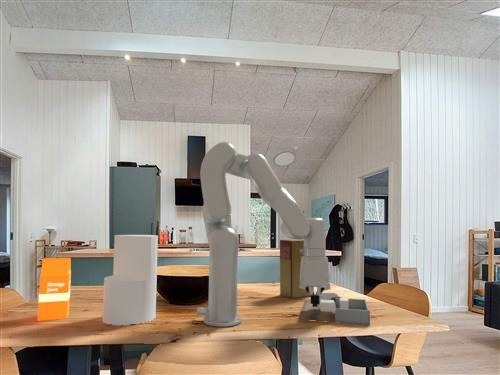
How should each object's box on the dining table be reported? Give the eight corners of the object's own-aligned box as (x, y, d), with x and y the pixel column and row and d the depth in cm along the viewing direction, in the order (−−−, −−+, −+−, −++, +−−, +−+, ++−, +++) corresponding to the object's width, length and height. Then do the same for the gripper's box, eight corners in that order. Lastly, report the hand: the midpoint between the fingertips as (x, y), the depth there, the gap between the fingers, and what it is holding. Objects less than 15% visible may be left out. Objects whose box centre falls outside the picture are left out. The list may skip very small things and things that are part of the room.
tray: (335, 322, 124) (335, 308, 124) (335, 310, 141) (335, 298, 142) (369, 325, 121) (369, 310, 122) (366, 311, 139) (365, 299, 139)
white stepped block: (129, 310, 139) (132, 234, 141) (166, 315, 131) (168, 235, 133) (90, 320, 123) (94, 236, 126) (129, 328, 115) (132, 237, 118)
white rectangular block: (320, 311, 127) (320, 302, 127) (320, 308, 131) (320, 299, 131) (333, 311, 126) (333, 302, 126) (334, 308, 130) (333, 300, 130)
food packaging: (301, 292, 176) (301, 239, 178) (315, 295, 168) (314, 240, 170) (278, 295, 169) (278, 239, 171) (291, 298, 161) (291, 240, 163)
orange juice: (41, 315, 130) (44, 257, 132) (69, 313, 133) (72, 256, 135) (37, 320, 123) (40, 259, 125) (66, 318, 126) (69, 258, 128)
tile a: (339, 300, 135) (348, 300, 134) (340, 297, 139) (348, 298, 138) (339, 313, 135) (348, 313, 134) (340, 310, 139) (348, 310, 138)
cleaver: (350, 309, 144) (350, 303, 144) (325, 309, 144) (324, 303, 144) (334, 295, 173) (334, 290, 173) (313, 294, 173) (313, 290, 173)
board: (300, 320, 126) (300, 311, 127) (305, 308, 144) (305, 300, 144) (335, 322, 124) (335, 313, 124) (335, 310, 141) (335, 302, 141)
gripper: (292, 253, 129) (292, 307, 128) (336, 254, 126) (337, 310, 124) (294, 251, 136) (294, 302, 135) (336, 252, 133) (337, 305, 132)
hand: (315, 306), depth 130 cm, fingers closed
